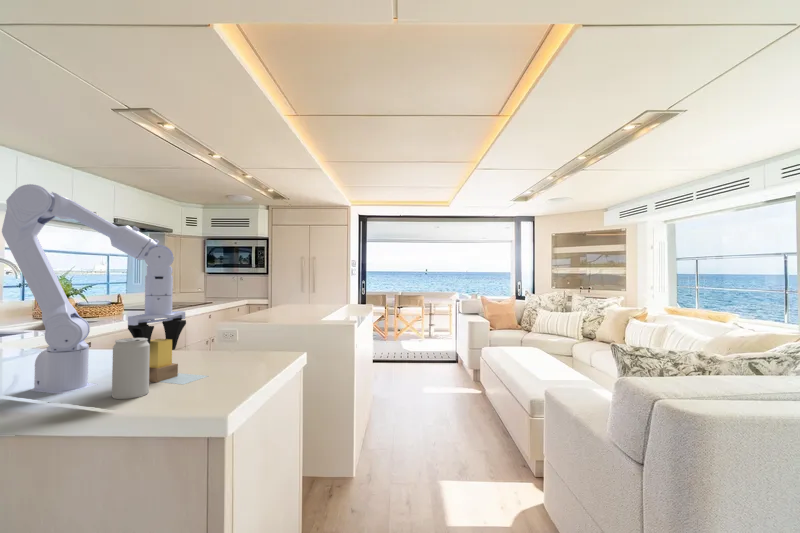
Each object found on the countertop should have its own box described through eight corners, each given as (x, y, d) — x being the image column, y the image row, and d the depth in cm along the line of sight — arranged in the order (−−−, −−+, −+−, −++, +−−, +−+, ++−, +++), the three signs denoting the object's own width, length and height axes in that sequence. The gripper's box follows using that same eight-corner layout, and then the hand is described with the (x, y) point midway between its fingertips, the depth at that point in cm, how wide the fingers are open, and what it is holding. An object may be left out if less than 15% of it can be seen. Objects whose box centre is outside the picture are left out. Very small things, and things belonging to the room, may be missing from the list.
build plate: (141, 382, 96) (141, 380, 96) (169, 374, 104) (169, 372, 104) (183, 386, 93) (183, 384, 93) (209, 378, 101) (209, 375, 101)
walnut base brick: (136, 380, 96) (136, 367, 96) (157, 374, 102) (158, 362, 102) (156, 382, 94) (157, 369, 94) (177, 376, 100) (177, 363, 100)
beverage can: (121, 404, 80) (122, 342, 81) (105, 398, 84) (107, 339, 84) (154, 396, 86) (156, 338, 86) (139, 391, 89) (140, 335, 89)
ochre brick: (144, 366, 97) (144, 341, 97) (158, 363, 101) (159, 338, 101) (157, 368, 96) (158, 342, 96) (171, 364, 99) (172, 339, 100)
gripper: (145, 297, 90) (144, 359, 90) (195, 294, 104) (194, 348, 104) (120, 296, 92) (119, 357, 92) (173, 293, 106) (172, 346, 106)
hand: (157, 352), depth 98 cm, fingers open, 7 cm apart
